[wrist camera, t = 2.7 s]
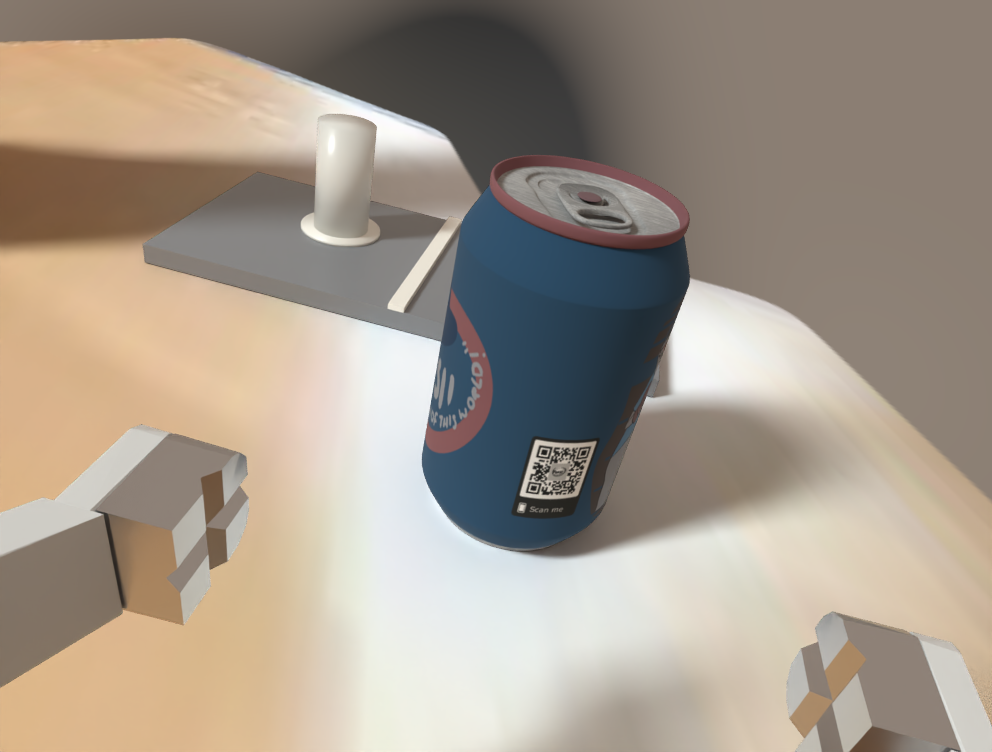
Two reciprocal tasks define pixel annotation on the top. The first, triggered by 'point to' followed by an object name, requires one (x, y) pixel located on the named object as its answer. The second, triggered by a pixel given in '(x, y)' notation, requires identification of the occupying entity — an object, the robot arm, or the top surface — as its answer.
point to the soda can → (550, 345)
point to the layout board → (324, 240)
